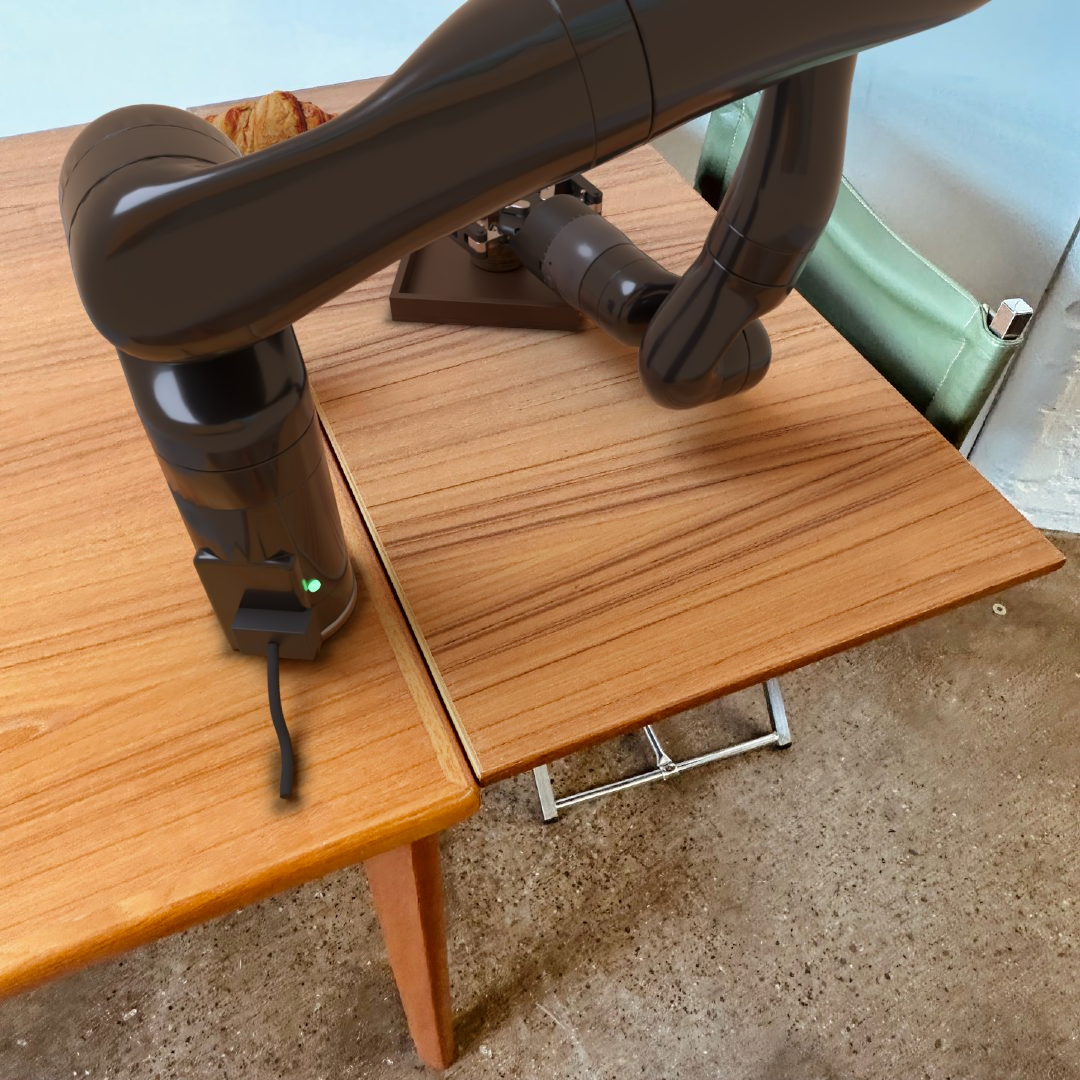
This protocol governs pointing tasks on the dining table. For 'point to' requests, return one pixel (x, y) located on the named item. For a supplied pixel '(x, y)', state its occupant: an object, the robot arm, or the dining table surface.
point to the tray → (473, 293)
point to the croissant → (268, 121)
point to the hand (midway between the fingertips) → (483, 178)
